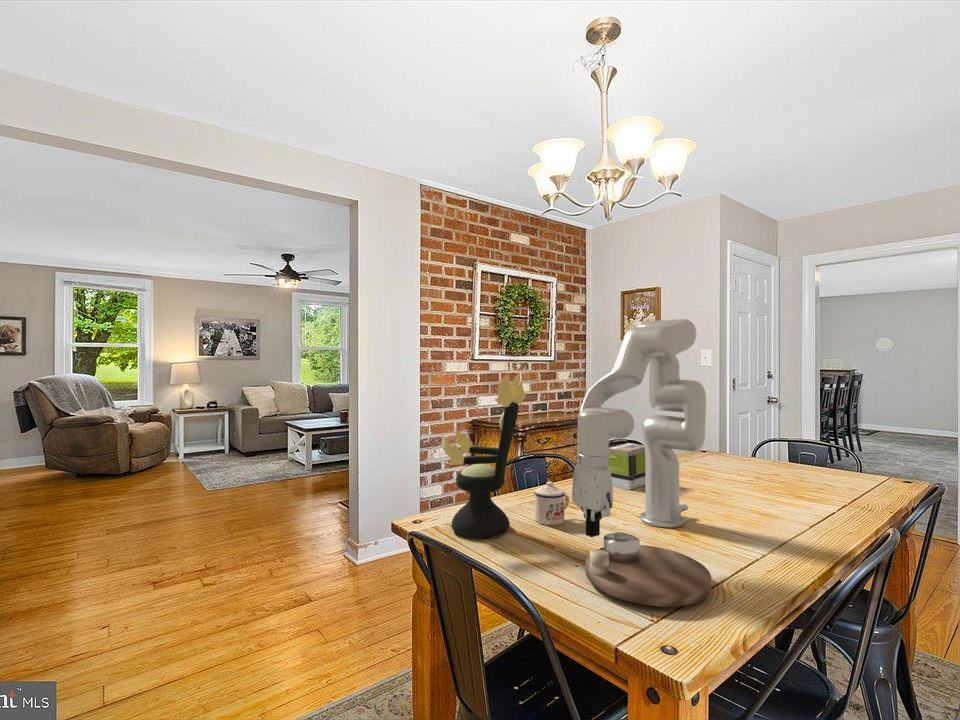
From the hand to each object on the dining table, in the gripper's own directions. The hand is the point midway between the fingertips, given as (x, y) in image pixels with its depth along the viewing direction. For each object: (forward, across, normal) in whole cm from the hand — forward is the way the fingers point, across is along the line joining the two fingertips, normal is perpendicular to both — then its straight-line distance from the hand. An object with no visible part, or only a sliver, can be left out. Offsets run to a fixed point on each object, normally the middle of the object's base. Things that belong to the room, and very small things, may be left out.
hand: (592, 535), depth 121 cm
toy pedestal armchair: (+6, -30, -12) cm, 33 cm away
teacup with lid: (+5, -26, +10) cm, 28 cm away
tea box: (+5, -42, +60) cm, 74 cm away
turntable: (+4, +16, 0) cm, 16 cm away
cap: (+2, +9, 0) cm, 9 cm away
